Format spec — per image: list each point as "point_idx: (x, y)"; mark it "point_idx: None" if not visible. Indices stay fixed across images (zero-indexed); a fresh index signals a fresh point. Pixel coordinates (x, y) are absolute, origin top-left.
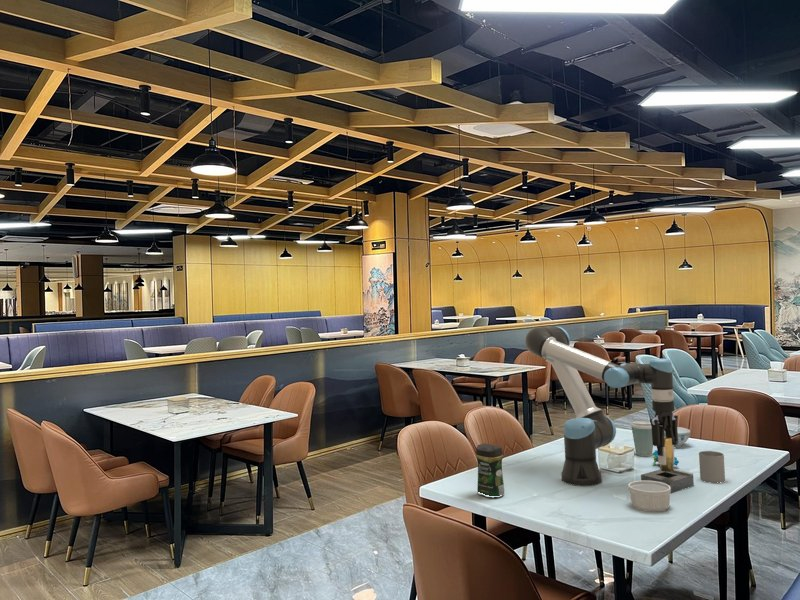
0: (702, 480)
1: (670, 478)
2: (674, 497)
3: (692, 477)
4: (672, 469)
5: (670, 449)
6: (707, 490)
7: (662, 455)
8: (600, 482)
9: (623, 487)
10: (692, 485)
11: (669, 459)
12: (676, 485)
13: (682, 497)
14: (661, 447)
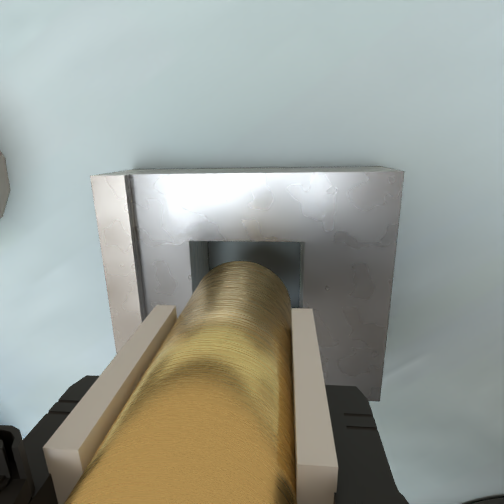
0: (5, 199)
1: (310, 226)
2: (444, 95)
3: (115, 173)
4: (239, 265)
5: (211, 385)
6: (140, 54)
7: (329, 387)
8: (495, 501)
9: (469, 395)
10: (143, 169)
11: (257, 314)
12: (315, 169)
13: (405, 60)
14: (365, 491)
